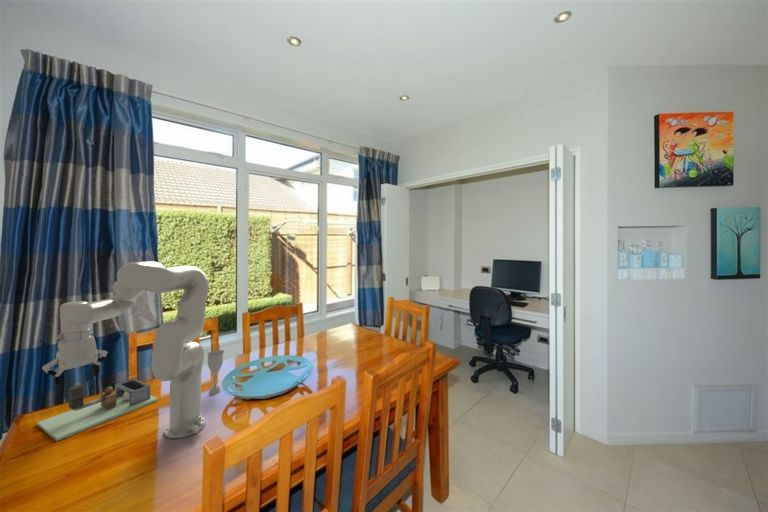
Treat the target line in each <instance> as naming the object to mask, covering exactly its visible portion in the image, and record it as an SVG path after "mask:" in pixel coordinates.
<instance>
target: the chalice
mask: <svg viewBox="0 0 768 512" xmlns="http://www.w3.org/2000/svg"><path fill="white" fill-rule="evenodd" d="M224 353H225V351H224V350H222V349H215V350H211V351H209V352H207V353H206V356H207V367H208V369H209V370H210V372H211V374H213V380H212V382H213V385H212V386H211V387H210V389H209V391H208V394H209V395H217V394H219V393H220V391H222V389H221V385H218V384H217V382H218V380H217V378H218V376H217V374H218V373H219V371H220V370H221V369H222V366H223V363H224ZM216 393H217V394H216Z"/></svg>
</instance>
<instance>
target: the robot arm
mask: <svg viewBox="0 0 768 512" xmlns="http://www.w3.org/2000/svg"><path fill="white" fill-rule="evenodd" d="M116 279H117V280H116V281H115V282H114V283H113V285H112V291H113V293H114V295H113V296H111V297H109V298H106V299H105V298H104V299H100V300H96V301H91V302H88V301H85V300H79V301H77V300H76V301H68V302H65V303H62V304H61V305H60V307H59V314H60V315H59V317H60V318H59V319H60V321H59V322H60V333H59V335H55V337H54V338H55V340H59V341H58V344H57V348H56V355H55V356H56V357H55V359H53V360H51V361H50V362H48V363H47V364H44V365H43V366H42V367H41V369H42V370H43V371H44V372H45V373H46V374H48V375H50V376H53V384H54V386H56V387H58V388H62V387H63V375H62V373H64V371H67V370H71V369H75V368H79V367H82V366H86V365H90V364H91V375H92V376H94V377H98V376H99V373H100V366H101V364H102V362H103V361H105V360H106V357H107V355H108V353H109V352H108V351H107V350H103V349H97V343H96V340H95V336H94V335H91V324H94V323H95V324H96V323H98V322H101V321H105V320H110V319H113V318H114V319H115V318H116V317H118V316H120V315H122V314H124V313H125V312H126V311H127V310H129V309H131V308H132V307H133V306H135V304H136V302H137V299H138V297H140V296H142V294H144V293H145V292H150V293H158V294H165V293H172V292H175V291H177V292H178V291H182V290H183V293H182V295H181V296H180V298H179V301H178V304H177V313H176V317H174V318H173V319H170V320H168V321H166V322H163V323H162V324H161V325H160V326H159V327H158V329H156V331H155V335H154V339H153V346H152V354H151V355H152V357H151V372H152V375H153V377H154V378H155V379H156V380H158V381H160V382H169V381H170V382H169V383H170V384H169V424H167V425H166V427H164V431H163V434H164V436H165V437H166V438H169V439H175V440H176V439H183V438H186V437H189V436H192V435H194V434H198V433H199V432H200V431H201V430H202V429H203V428H204V426H205V424H206V418H205V417H204V416H202V415H201V412H202V409H201V408H202V407H201V406H202V405H201V403H202V371H203V366H204V365H203V364H204V360H205V350H204V347H203V346H202V345H201V343H198V342H196V341H194V340H196V339H197V338H199V337H200V336H202V333H203V331H204V326H205V325H204V324H205V317H206V306H207V305H206V304H207V299H208V293H209V289H210V288H209V287H210V286H209V285H210V284H209V280H208V277H207V275H206V273H204V271H203V270H202V269H200V268H199V267H196V266H193V265H178V266H168V267H167V266H166V267H165V266H164V265H163V264H162V263H160V262H158V261H154V260H147V261H132V262H131V261H130V262H128V263H125V264H124V265H122V266H121V267H120V268H119V269H118V271H117V274H116ZM98 354H99V355H100V356H99V357H98ZM55 365H56V366H55ZM53 366H55V367H56V368H55V370H52V369H51V367H53Z"/></svg>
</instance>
